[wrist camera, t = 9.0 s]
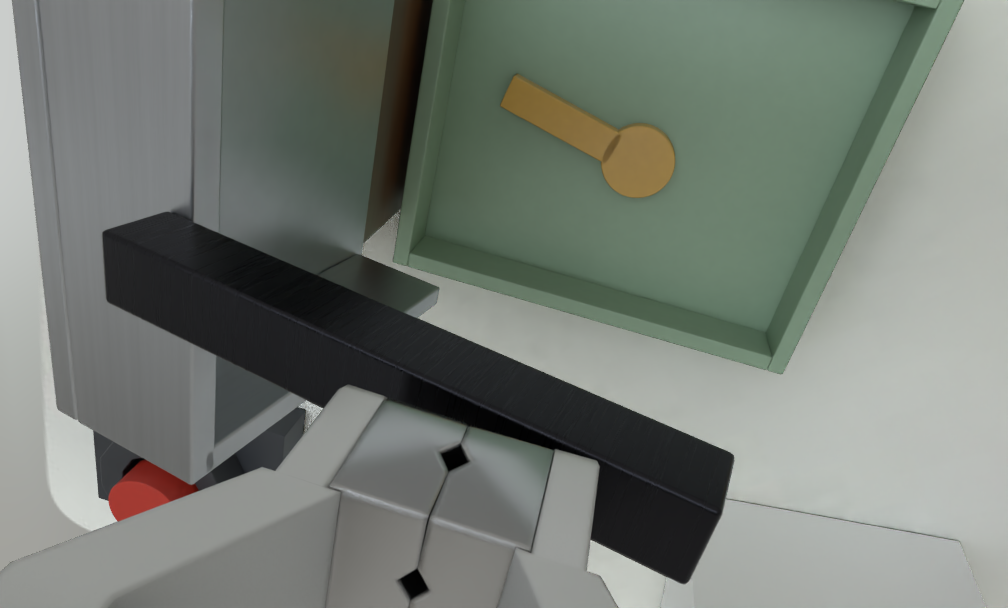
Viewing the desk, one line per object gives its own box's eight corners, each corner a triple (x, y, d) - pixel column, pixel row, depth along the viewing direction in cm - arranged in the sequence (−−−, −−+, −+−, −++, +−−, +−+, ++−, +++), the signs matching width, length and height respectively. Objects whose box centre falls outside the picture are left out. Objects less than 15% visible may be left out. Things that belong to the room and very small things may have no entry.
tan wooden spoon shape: (650, 210, 25) (650, 206, 26) (689, 148, 24) (689, 144, 25) (490, 123, 25) (494, 120, 26) (522, 56, 24) (525, 54, 25)
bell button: (134, 503, 34) (110, 528, 33) (131, 447, 33) (105, 471, 31) (202, 525, 34) (180, 552, 33) (203, 470, 32) (180, 495, 31)
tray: (412, 239, 29) (392, 262, 27) (472, -122, 23) (452, -132, 21) (773, 343, 28) (782, 375, 26) (938, -11, 22) (969, -8, 20)
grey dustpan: (-5, 441, 13) (585, 793, 10) (-107, -174, 9) (924, 106, 5) (345, 260, 23) (707, 411, 19) (385, -81, 18) (868, 43, 15)
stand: (183, 138, 29) (77, 176, 24) (182, -138, 25) (50, -166, 19) (409, 201, 28) (351, 255, 23) (452, -71, 24) (392, -81, 19)
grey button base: (126, 471, 39) (72, 521, 35) (119, 352, 35) (59, 395, 32) (294, 526, 38) (256, 583, 35) (305, 409, 34) (265, 460, 31)
